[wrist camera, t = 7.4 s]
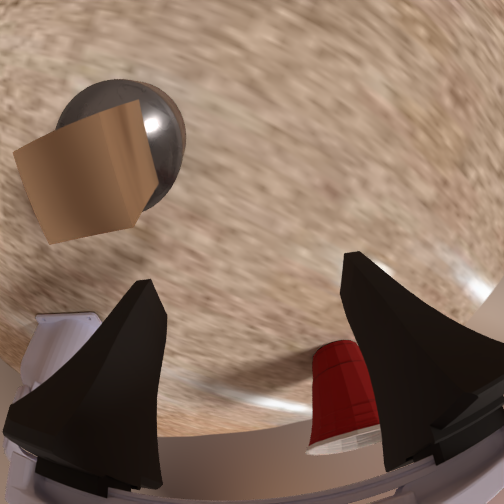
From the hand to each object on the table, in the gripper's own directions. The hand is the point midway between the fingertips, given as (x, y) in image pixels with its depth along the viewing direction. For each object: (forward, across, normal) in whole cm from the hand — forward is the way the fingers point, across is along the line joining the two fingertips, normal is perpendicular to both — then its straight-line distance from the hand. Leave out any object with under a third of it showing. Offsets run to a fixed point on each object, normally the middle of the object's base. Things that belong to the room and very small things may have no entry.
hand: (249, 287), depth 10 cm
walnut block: (+7, +7, -4) cm, 11 cm away
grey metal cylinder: (+10, +7, -4) cm, 13 cm away
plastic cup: (+10, -8, +22) cm, 25 cm away
